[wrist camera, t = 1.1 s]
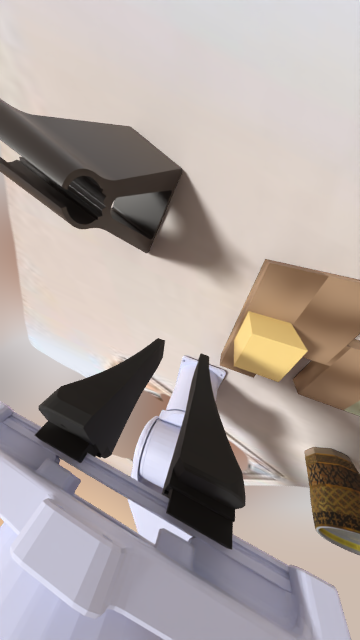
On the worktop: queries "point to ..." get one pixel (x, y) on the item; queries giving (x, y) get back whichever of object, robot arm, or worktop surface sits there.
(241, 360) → the block
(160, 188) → the phone stand
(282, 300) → the box
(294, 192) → the worktop surface
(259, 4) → the worktop surface
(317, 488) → the ceramic cup
